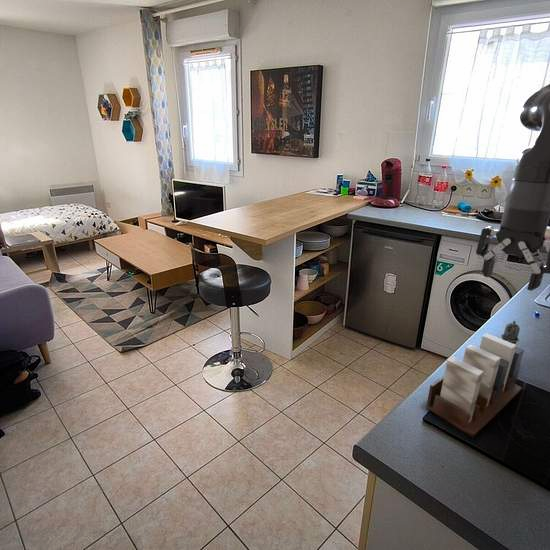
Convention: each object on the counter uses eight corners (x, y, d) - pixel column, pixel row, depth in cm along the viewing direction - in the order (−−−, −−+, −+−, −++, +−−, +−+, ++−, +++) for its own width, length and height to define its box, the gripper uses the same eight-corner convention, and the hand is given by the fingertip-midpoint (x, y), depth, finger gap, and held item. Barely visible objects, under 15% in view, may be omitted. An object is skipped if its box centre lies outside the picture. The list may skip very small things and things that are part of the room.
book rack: (521, 390, 81) (536, 341, 76) (473, 437, 69) (487, 383, 64) (476, 368, 88) (487, 322, 83) (425, 407, 76) (434, 357, 72)
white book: (503, 391, 79) (516, 345, 75) (499, 395, 78) (512, 348, 74) (476, 377, 84) (486, 332, 79) (471, 380, 83) (482, 335, 78)
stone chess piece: (522, 367, 88) (535, 324, 83) (503, 372, 87) (515, 329, 82) (502, 354, 93) (513, 313, 89) (484, 358, 92) (494, 316, 87)
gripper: (581, 208, 65) (555, 289, 72) (499, 196, 76) (482, 268, 82) (565, 214, 61) (539, 299, 68) (480, 201, 72) (465, 275, 79)
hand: (508, 282), depth 75 cm, fingers open, 8 cm apart
